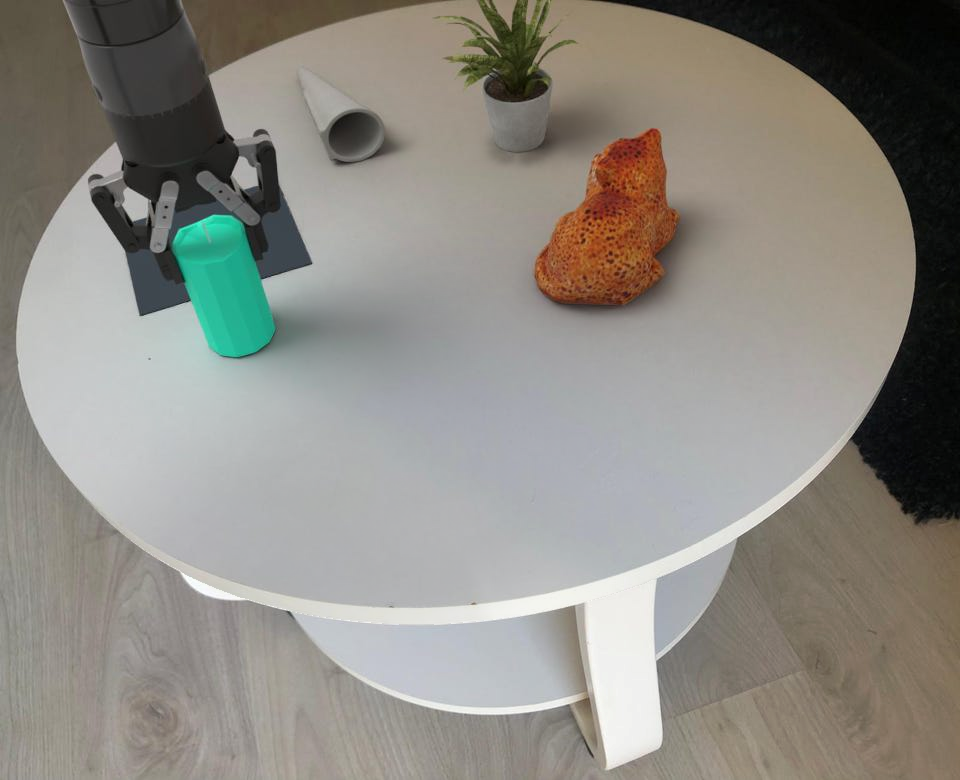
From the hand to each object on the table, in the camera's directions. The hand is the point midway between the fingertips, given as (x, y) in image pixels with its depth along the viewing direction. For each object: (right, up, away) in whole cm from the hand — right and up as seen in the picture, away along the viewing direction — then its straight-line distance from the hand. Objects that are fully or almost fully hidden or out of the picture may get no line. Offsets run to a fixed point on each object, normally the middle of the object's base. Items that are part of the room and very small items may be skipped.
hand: (217, 265), depth 80 cm
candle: (+1, -5, +6) cm, 8 cm away
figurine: (+33, +2, +9) cm, 34 cm away
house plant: (+25, +17, +23) cm, 38 cm away
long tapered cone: (+6, +20, +28) cm, 35 cm away
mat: (-4, +4, +14) cm, 15 cm away
